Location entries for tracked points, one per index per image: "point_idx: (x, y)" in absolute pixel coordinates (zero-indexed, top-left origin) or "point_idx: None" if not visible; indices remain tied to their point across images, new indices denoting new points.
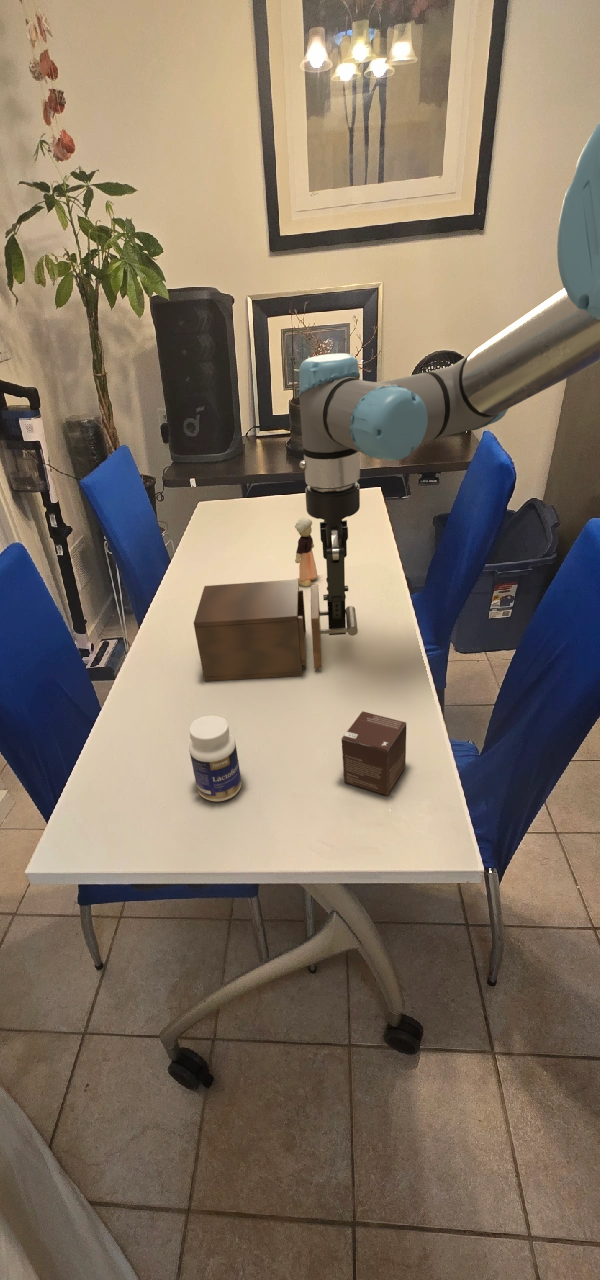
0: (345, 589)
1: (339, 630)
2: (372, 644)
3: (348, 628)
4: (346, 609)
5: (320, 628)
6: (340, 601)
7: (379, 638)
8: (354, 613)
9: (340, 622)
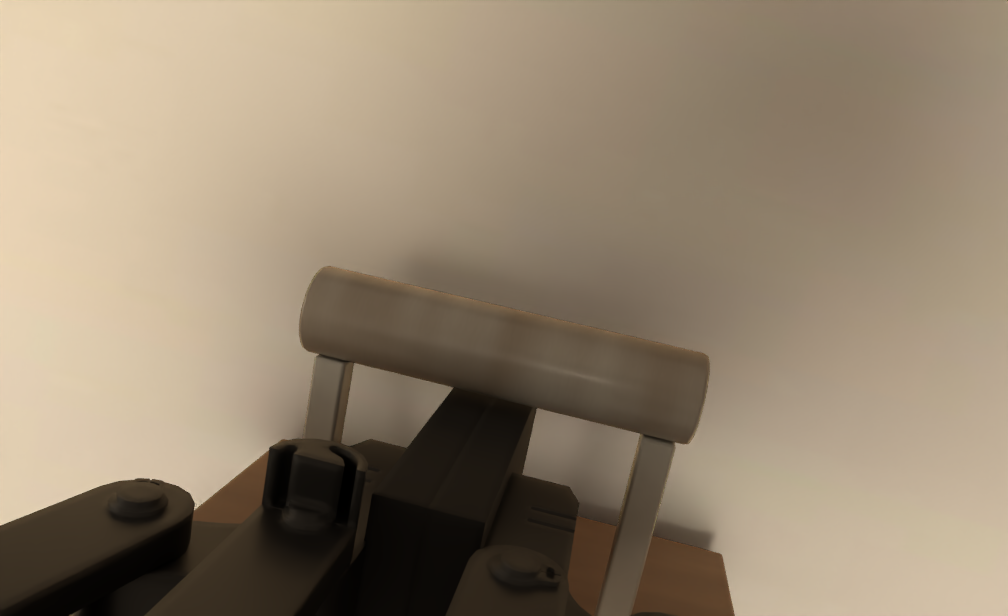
0: (358, 502)
1: (657, 505)
2: (487, 138)
3: (682, 440)
4: (334, 356)
5: None
6: (569, 602)
7: (425, 69)
8: (436, 314)
9: (519, 456)
